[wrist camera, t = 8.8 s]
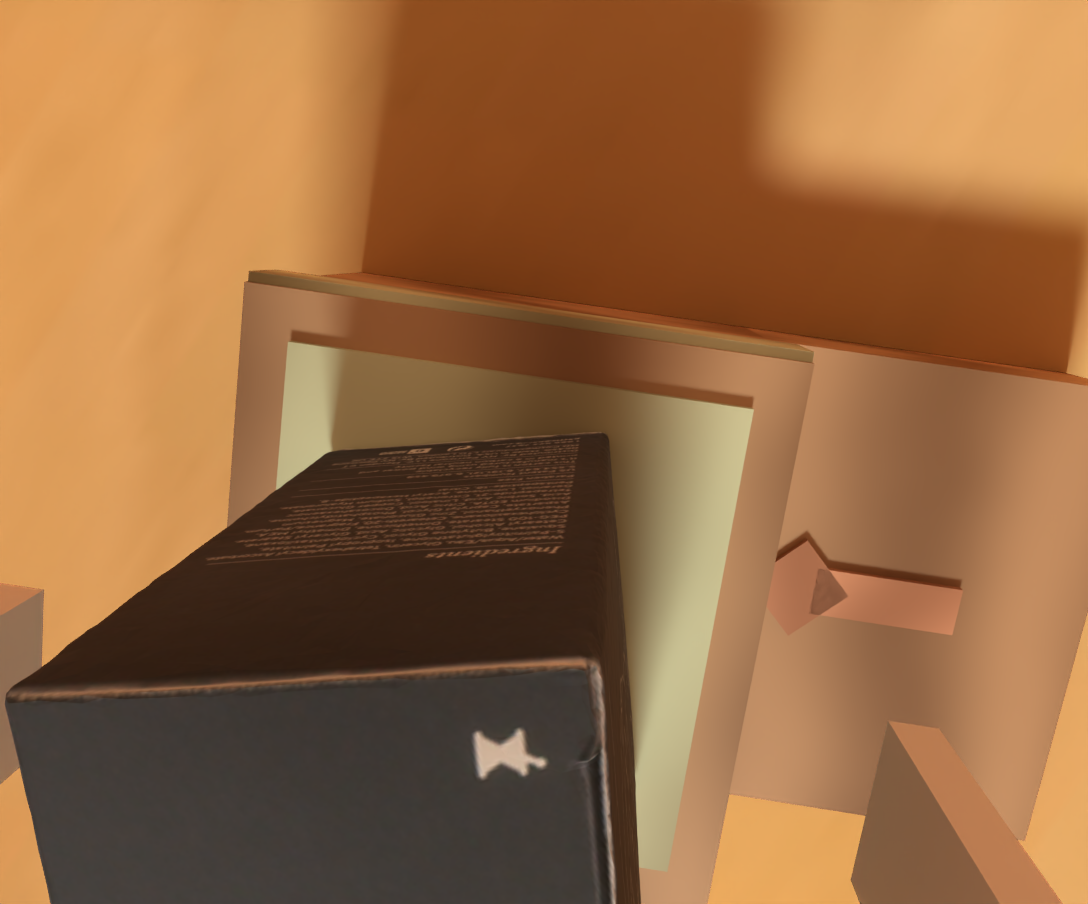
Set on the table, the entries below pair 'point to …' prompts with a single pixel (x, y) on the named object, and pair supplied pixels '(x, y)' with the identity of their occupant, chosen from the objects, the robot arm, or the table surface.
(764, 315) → the table surface
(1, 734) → the robot arm
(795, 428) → the stand
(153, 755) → the box
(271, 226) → the table surface
